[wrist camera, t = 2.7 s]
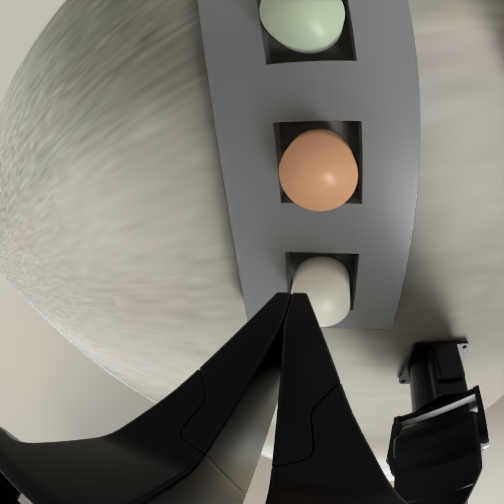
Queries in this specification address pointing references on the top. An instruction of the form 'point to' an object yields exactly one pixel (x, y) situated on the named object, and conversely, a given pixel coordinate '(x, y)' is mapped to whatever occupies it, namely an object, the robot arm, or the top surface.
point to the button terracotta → (318, 170)
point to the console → (318, 109)
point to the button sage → (303, 23)
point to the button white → (324, 288)
